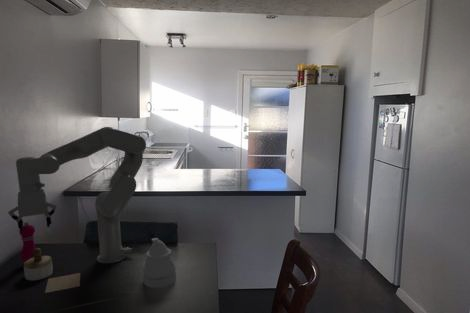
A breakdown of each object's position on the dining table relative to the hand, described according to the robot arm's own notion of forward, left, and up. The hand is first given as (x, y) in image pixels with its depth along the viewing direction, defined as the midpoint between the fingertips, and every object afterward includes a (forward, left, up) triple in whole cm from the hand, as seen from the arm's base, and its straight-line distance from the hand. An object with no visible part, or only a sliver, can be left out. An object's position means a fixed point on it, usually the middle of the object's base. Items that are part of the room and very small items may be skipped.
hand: (35, 228), depth 143 cm
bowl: (0, 0, -21) cm, 21 cm away
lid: (0, 0, -15) cm, 15 cm away
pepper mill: (+5, -14, -21) cm, 26 cm away
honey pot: (-46, +25, -21) cm, 56 cm away
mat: (-10, +12, -21) cm, 26 cm away
